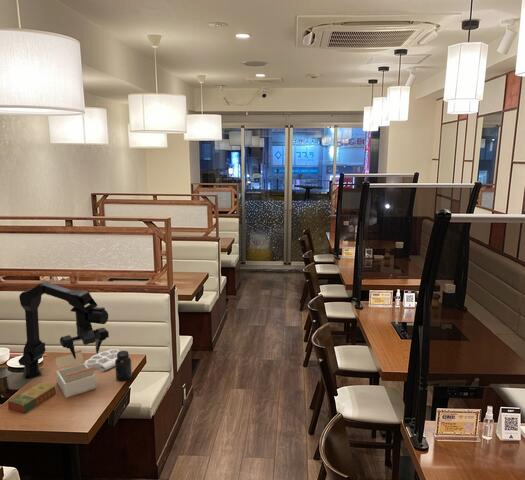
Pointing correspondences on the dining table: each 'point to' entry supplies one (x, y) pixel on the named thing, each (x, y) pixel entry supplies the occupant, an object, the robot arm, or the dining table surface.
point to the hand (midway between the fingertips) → (86, 355)
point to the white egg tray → (103, 360)
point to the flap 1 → (68, 359)
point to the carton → (31, 397)
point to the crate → (74, 381)
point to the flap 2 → (80, 374)
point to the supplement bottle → (123, 366)
